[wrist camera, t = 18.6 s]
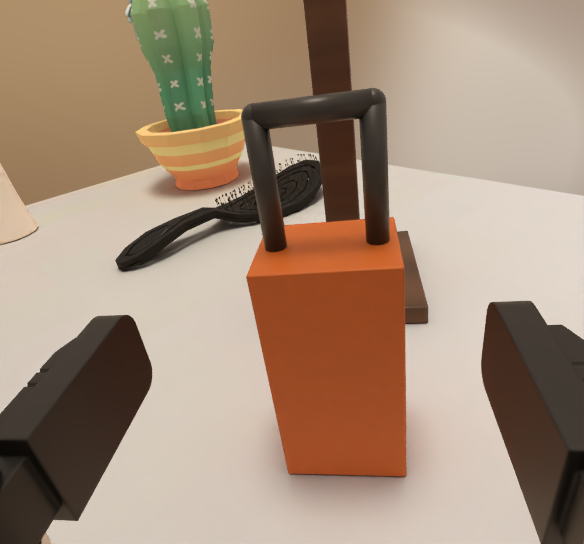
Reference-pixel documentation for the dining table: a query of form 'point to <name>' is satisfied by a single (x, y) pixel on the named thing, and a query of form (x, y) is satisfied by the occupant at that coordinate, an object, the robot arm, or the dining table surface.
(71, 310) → the dining table surface
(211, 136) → the potted cactus
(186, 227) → the hairbrush
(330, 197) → the hook stand
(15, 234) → the cosmetic bottle
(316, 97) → the orange handled weight
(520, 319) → the robot arm
